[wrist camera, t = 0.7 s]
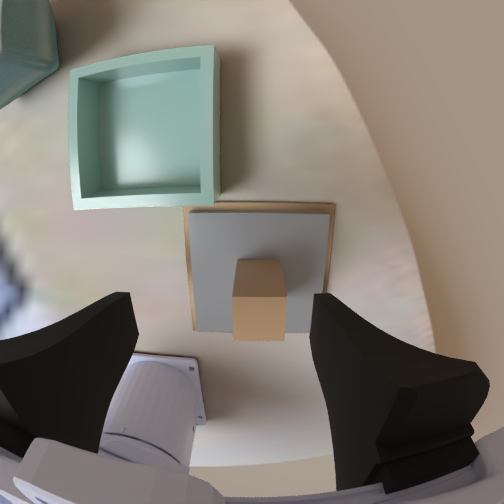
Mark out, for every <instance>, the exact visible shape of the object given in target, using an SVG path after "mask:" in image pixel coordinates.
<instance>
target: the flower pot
mask: <svg viewBox="0 0 504 504" xmlns="http://www.w3.org/2000/svg"><path fill="white" fill-rule="evenodd" d="M58 67H59V55H58V47H57V38H56V26H55V20H54V16H53V11H52V8H51V5H50V3H49V0H0V109H1V108H3V107H5V106H6V105H8V104H9V103H11V102H12V101H14V100H15V99H17V98H18V97H20V96H21V95H22V94H23V93H25V92H26V91H27V90H29V89H30V88H31V87H33V86H34V85H35V84H37V83H38V82H39V81H41V80H42V79H44V78H45V77H47V76H48V75H50V74H51V73H53V72H54V71H56V70H57V69H58Z"/></svg>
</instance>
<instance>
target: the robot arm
mask: <svg viewBox="0 0 504 504" xmlns="http://www.w3.org/2000/svg"><path fill="white" fill-rule="evenodd" d="M138 336H139V332H138V328H137V324H136V320H135V315H134V311H133V306H132V301H131V297H130V292H115V293H112V294H110V295H108V296H106V297H104V298H102V299H100V300H98V301H96V302H94V303H93V304H91V305H89V306H87V307H85V308H84V309H82V310H80V311H78V312H76V313H74V314H72V315H70V316H68V317H66V318H65V319H63V320H61V321H59V322H56V323H54V324H52V325H50V326H47V327H45V328H42V329H40V330H37V331H34V332H31V333H27V334H24V335H21V336H18V337H14V338H9V339H5V340H0V504H504V427H502V428H500V429H498V430H497V431H495V432H493V433H490V434H488V435H486V436H484V437H482V438H481V439H479V440H478V441H477V442H475V443H474V442H473V440H472V438H471V437H470V436H472V435H473V434H474V429H473V427H472V425H471V424H470V423H471V422H472V420H473V419H474V417H475V416H476V414H477V413H478V411H479V410H480V408H481V406H482V405H483V403H484V401H485V399H486V397H487V395H488V391H489V387H490V383H489V380H488V378H487V377H486V375H485V374H484V373H483V372H482V370H481V369H480V368H479V366H478V365H477V364H476V363H475V362H472V361H466V360H461V359H455V358H450V357H446V356H442V355H439V354H435V353H432V352H429V351H426V350H423V349H420V348H418V347H415V346H413V345H410V344H408V343H405V342H403V341H401V340H399V339H397V338H395V337H393V336H391V335H389V334H387V333H385V332H384V331H382V330H380V329H379V328H377V327H376V326H374V325H372V324H371V323H369V322H368V321H366V320H365V319H364V318H362V317H361V316H359V315H358V314H357V313H355V312H354V311H353V310H351V309H350V308H349V307H347V306H346V305H345V304H344V303H342V302H341V301H340V300H339V299H337V298H336V297H335V296H333V295H332V294H330V293H314V299H313V309H312V318H311V328H310V337H309V338H310V344H311V351H312V357H313V361H314V365H315V368H316V371H317V375H318V378H319V381H320V385H321V388H322V391H323V395H324V398H325V401H326V406H327V410H328V415H329V422H330V428H331V435H332V443H333V451H334V461H335V472H336V489H337V491H335V492H327V493H320V494H311V495H300V496H285V497H255V498H254V497H223V496H222V495H221V494H220V493H219V492H218V491H217V490H216V489H215V488H214V487H213V486H212V485H211V484H210V483H208V482H206V481H203V480H201V479H198V478H196V477H194V476H191V475H189V464H190V458H191V452H192V446H193V441H194V435H195V429H196V425H205V424H206V416H205V410H204V403H203V397H202V391H201V384H200V377H199V370H198V363H197V361H196V360H195V359H193V358H184V357H170V356H159V355H148V354H139V353H133V352H134V349H135V346H136V343H137V339H138ZM191 367H193V368H191ZM119 382H120V383H119ZM118 384H119V385H118ZM117 386H118V387H117Z"/></svg>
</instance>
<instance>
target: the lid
mask: <svg viewBox="0 0 504 504" xmlns="http://www.w3.org/2000/svg"><path fill="white" fill-rule="evenodd" d="M329 220H330V214H329V213H328V212H315V211H269V210H190V212H189V213H188V223H189V240H190V255H191V268H192V281H193V292H194V303H195V314H196V323H197V331H200V332H230V333H233V340H238V341H284V335H285V333H306V332H310V328H311V318H312V309H313V299H314V293H322V290H323V282H324V273H325V264H326V254H327V244H328V232H329Z"/></svg>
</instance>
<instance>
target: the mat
mask: <svg viewBox="0 0 504 504" xmlns="http://www.w3.org/2000/svg"><path fill="white" fill-rule="evenodd" d="M334 209H335V205H334V204H324V203H292V202H216V203H215V204H214V206H183V216H184V233H185V247H186V261H187V273H188V284H189V295H190V305H191V314H192V323H193V330H197V323H196V314H195V303H194V292H193V281H192V268H191V255H190V240H189V223H188V213H189V212H190V210H269V211H315V212H328V213H329V214H330V220H329V232H328V244H327V254H326V264H325V273H324V282H323V290H322V293H326V289H327V281H328V272H329V263H330V254H331V244H332V233H333V222H334Z"/></svg>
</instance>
